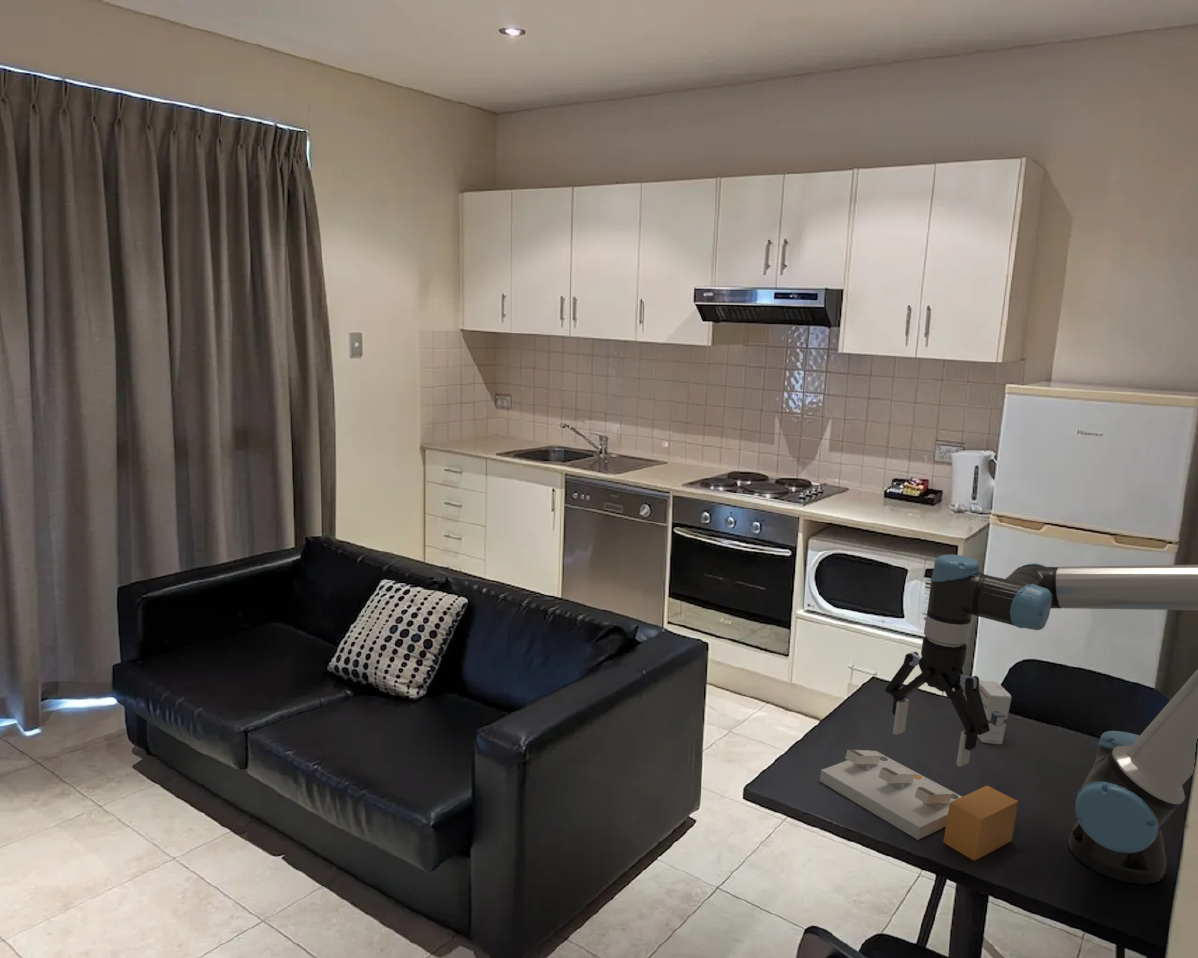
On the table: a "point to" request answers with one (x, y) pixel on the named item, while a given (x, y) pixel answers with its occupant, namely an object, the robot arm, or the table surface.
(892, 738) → the table surface
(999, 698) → the ink box
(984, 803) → the brown block
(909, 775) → the block
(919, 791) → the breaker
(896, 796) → the panel
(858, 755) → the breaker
